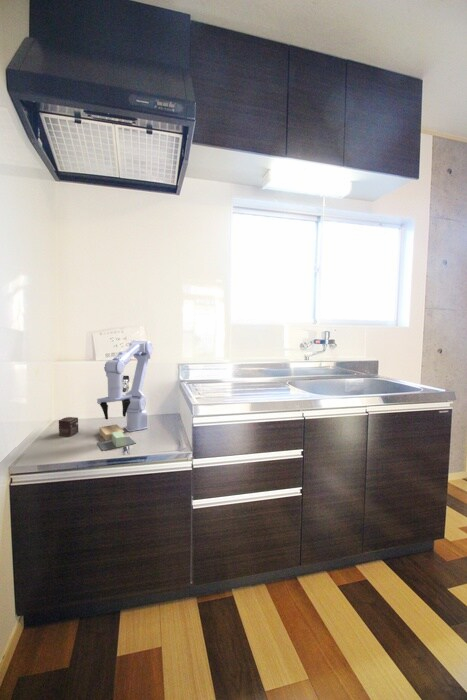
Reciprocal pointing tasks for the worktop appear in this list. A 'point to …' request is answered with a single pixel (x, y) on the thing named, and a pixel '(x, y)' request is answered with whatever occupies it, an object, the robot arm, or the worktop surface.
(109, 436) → the step
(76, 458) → the worktop surface
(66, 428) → the box
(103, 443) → the mat
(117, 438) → the block
